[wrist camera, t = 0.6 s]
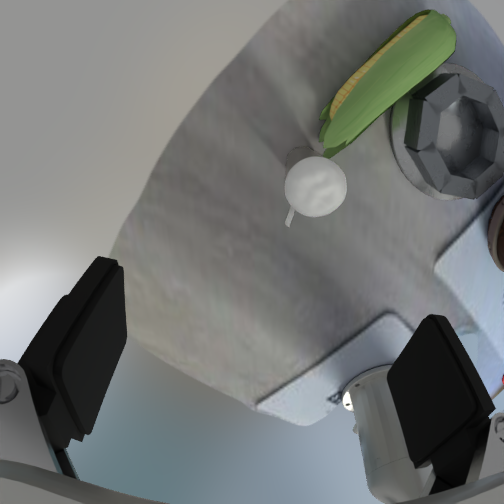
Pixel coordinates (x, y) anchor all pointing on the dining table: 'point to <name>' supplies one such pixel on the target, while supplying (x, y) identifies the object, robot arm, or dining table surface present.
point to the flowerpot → (497, 234)
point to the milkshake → (312, 184)
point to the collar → (449, 134)
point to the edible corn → (387, 77)
